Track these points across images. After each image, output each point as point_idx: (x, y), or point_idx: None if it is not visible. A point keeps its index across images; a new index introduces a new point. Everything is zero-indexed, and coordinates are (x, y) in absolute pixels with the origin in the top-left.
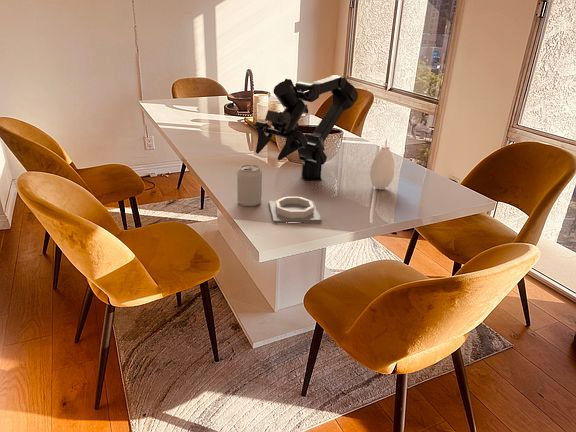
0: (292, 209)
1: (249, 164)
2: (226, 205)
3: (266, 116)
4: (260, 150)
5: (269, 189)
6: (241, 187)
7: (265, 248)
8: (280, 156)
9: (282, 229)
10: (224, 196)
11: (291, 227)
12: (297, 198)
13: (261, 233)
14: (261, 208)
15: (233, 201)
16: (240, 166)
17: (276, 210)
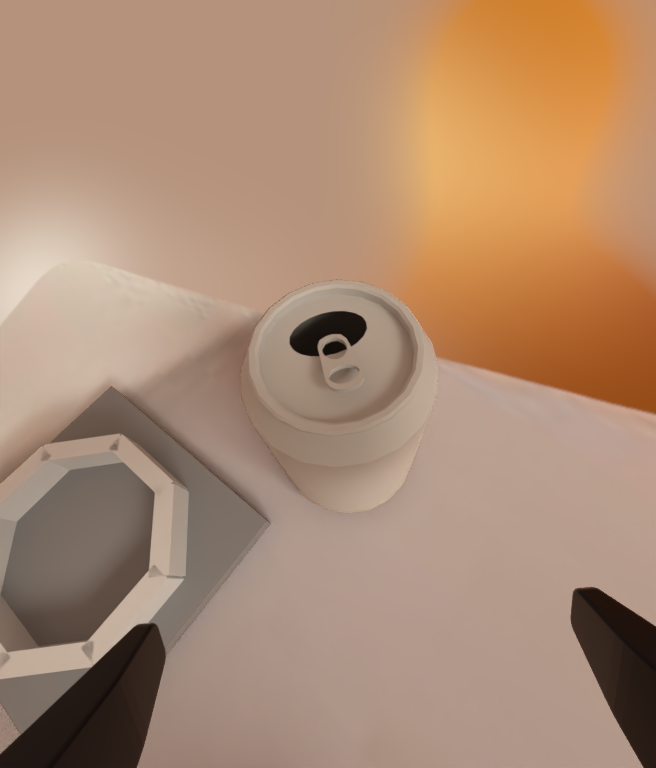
0: (99, 540)
1: (400, 393)
2: None
3: None
4: (614, 703)
5: (443, 717)
6: (333, 343)
7: (52, 271)
8: (100, 666)
9: (66, 387)
10: (495, 406)
11: (42, 425)
12: (94, 635)
13: (116, 315)
14: (259, 454)
15: None
16: (401, 306)
17: (154, 459)
